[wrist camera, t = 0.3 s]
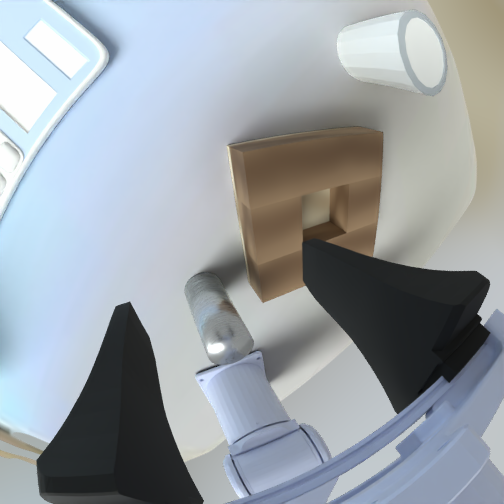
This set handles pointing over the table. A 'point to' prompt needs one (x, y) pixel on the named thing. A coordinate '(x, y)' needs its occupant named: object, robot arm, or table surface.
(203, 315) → the pin
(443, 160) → the table surface
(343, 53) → the shot glass
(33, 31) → the calculator
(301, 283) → the bore block
